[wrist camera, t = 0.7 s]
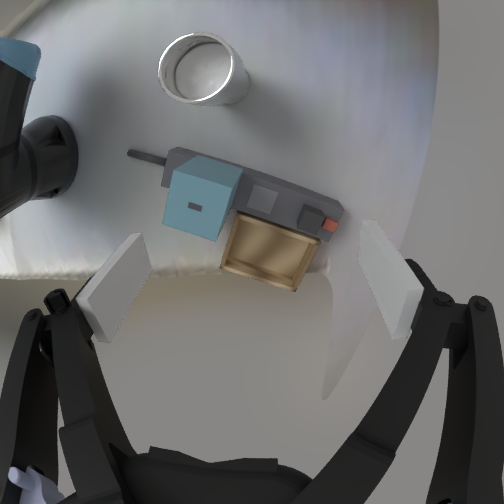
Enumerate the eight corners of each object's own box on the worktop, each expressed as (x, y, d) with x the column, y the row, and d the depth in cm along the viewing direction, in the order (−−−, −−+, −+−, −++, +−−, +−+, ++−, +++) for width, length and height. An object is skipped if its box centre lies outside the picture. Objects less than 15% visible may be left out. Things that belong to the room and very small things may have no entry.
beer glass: (190, 83, 31) (140, 71, 18) (229, 50, 29) (199, 15, 16) (224, 117, 34) (191, 122, 21) (264, 84, 31) (255, 67, 18)
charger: (192, 191, 38) (162, 224, 28) (203, 152, 35) (173, 170, 25) (232, 204, 39) (215, 242, 28) (245, 164, 36) (232, 188, 26)
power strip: (126, 167, 38) (106, 176, 33) (132, 135, 35) (111, 141, 30) (324, 231, 40) (331, 250, 35) (338, 201, 38) (348, 216, 33)
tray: (223, 256, 44) (219, 267, 41) (240, 204, 39) (236, 213, 36) (294, 279, 45) (295, 292, 42) (317, 231, 40) (320, 242, 37)
